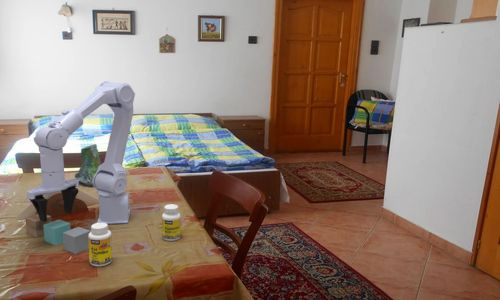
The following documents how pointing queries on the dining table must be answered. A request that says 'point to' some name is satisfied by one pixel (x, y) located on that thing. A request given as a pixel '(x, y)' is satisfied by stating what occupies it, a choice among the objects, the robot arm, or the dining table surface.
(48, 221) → the tan cube
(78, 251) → the slate block
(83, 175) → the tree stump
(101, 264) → the supplement bottle
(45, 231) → the teal block
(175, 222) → the supplement bottle
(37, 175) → the dining table surface
